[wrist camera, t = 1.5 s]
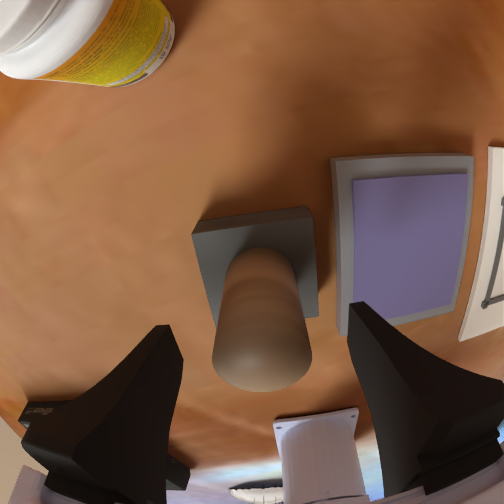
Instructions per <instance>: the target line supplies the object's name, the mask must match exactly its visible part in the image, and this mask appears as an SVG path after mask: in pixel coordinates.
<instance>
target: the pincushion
mask: <svg viewBox="0 0 504 504" xmlns="http://www.w3.org/2000/svg"><path fill="white" fill-rule="evenodd" d="M228 490H229V491H230V493H231V494H232V495H233V496H234V497H236V498H238V499H240V500H243V501H244V502H245V501H246V502H249V503H254V504H273V503H278V502H282V504H283V501H284V498H283V487H282V485H281V488H280V487H276V483H275V488H274V487H270V488H265V489H264V485H263V489H255V485H254V488H251V489H250V490H247V489H243V490H242V489H237V491H236V490H234V489H233V490H232V489H231V490H232V491H231V490H230V489H228Z"/></svg>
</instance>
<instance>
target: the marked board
mask: <svg viewBox="0 0 504 504" xmlns="http://www.w3.org/2000/svg"><path fill="white" fill-rule="evenodd" d="M502 326H504V147H491V146H488V179H487V195H486V207H485V216H484V224H483V232H482V239H481V245H480V251H479V257H478V262H477V267H476V272H475V276H474V281H473V285H472V289H471V293H470V297H469V301H468V305H467V309H466V312H465V316H464V319H463V322H462V326H461V329H460V332H459V335H458V338H457V339H458V340H459V341H460V342H461V341H464V340H467V339H470V338H473V337H475V336H478V335H481V334H484V333H486V332H489V331H491V330H494V329H497V328H499V327H502Z"/></svg>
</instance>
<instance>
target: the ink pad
mask: <svg viewBox="0 0 504 504" xmlns="http://www.w3.org/2000/svg"><path fill="white" fill-rule="evenodd" d="M330 167H331V178H332V191H333V205H334V222H335V244H336V286H337V313H336V326H337V329H338V331H339V334H340V336H346V335H348V315H349V303H355V302H361V301H364V302H365V303H366V304H368V305H369V306H370V307H371V308H372V309H373V310H374V311H376V312H377V313H378V314H379V315H380V316H381V317H382V318H384V319H385V320H386V321H387V322H388V323H389V324H391V325H392V326H396V325H400V324H405V323H409V322H413V321H418V320H422V319H426V318H430V317H434V316H437V315H441V314H445V313H449V312H452V311H454V308H455V304H456V300H457V296H458V292H459V287H460V283H461V278H462V273H463V268H464V262H465V256H466V250H467V244H468V237H469V229H470V220H471V210H472V198H473V179H474V156H472V155H468V154H465V153H401V154H379V155H362V156H348V157H336V158H330Z"/></svg>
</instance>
